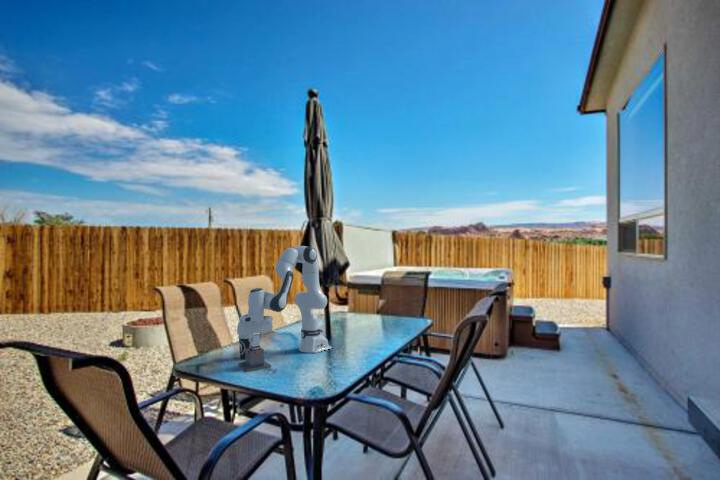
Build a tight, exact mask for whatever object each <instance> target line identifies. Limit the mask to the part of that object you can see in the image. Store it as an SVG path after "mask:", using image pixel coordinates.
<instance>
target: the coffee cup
mask: <svg viewBox="0 0 720 480" xmlns="http://www.w3.org/2000/svg"><path fill="white" fill-rule="evenodd" d="M251 335H253V334H251ZM237 338H238V342H239V343H238V347H239V359H240V360H244V361H245V348H250V342H249V338H248V337H247V334H246V335H239V334H238V337H237Z"/></svg>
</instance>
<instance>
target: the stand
mask: <svg viewBox="0 0 720 480" xmlns="http://www.w3.org/2000/svg"><path fill="white" fill-rule="evenodd" d="M237 366H238V367H239V368H240V369H242V370H244V372H246V373H249V372H255V371H260V370H265V369H271V368H272V364H270V363H268V362H267V361H265V349H264V348H262V347H260V349H259V350H255V351H251V350H250V348H245V360H244V361H241V362H238V363H237Z"/></svg>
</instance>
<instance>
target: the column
mask: <svg viewBox="0 0 720 480" xmlns="http://www.w3.org/2000/svg"><path fill="white" fill-rule="evenodd" d="M250 338H252V342H250V350H251V351H255V350H259V349H260V348H261V345H260V344H261V343H260V342H261V340H260V334H259V333H254V334H253V335H251V336H250Z"/></svg>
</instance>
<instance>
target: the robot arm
mask: <svg viewBox="0 0 720 480" xmlns="http://www.w3.org/2000/svg"><path fill="white" fill-rule="evenodd" d="M317 252H318V251H317V249H316V248H315V247H313V246H305V245H301V246H299V245H298V246H291V247H287V248H286V249H285V250H283V252H282V253H281V255H280V256H279V258H278V260H277V262H276V264H275V266H274V267H275V268H274V270H275V273H276V274H277V275H278V276H279V277H280V278H281V280H282V281H281V284H280V287H279V290H278V292H277V293H271V292H268V291H266V290H264V288H263V287H262V288H261V287H260V288H259V287H257V288H252V289H251V290H249V294H248V302H247V305H248V310H247V313H245V314H244V315H241V316H239V318H238V320H239V321H238V323H237V328H236V333H237V335H238V336H239V335H246V334H247V337H248V338H249V342H252V338H250V336H251V334H259V335H260V341H262V337H263V336H264V333H268V332H273V327H274V326H273V319H274V318H273V317H272V316H271V315H265V312H264V311H265V310H268V311H273V312H276V313H281V312H282V311H284V309H286V306H287V304H288V298H289V294H290V291H291V287H292V284H293V281H294V270H295V267H296V264H298V263H300V264H302V272H301V273H302V274H301V275H302V277H301V278H302V280H301V281H302V285H303V286H304V287H305V288H306V290H307V291H299V292H297V293H296V294H295V297H294V303H295V306H297V307H298V310H299V311H300V315H301V328H300V338H301V339H300V344H299V347H298V351H300V352H302V353H312V354H313V353H314V354H318V352H319V353H322V352H325V351H324V350H326V351H329V350H328V349H330V350H332V349H331V348H333V347H332V346H331V345H330V344H329V341H328V339H327V338H326V337H325V336H323V335H322V334H321V333H323V332H324V330H323V329H321V328H319V316H318V315H317V314H316V313H315V310H323V309H325V308H326V306H327V304H328V298H327V295H325V294H324V293H323V290H322V289H321V284H320V275H319V273H320V271H319V269H320V268H319V262H318V253H317ZM321 351H322V352H321Z"/></svg>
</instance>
